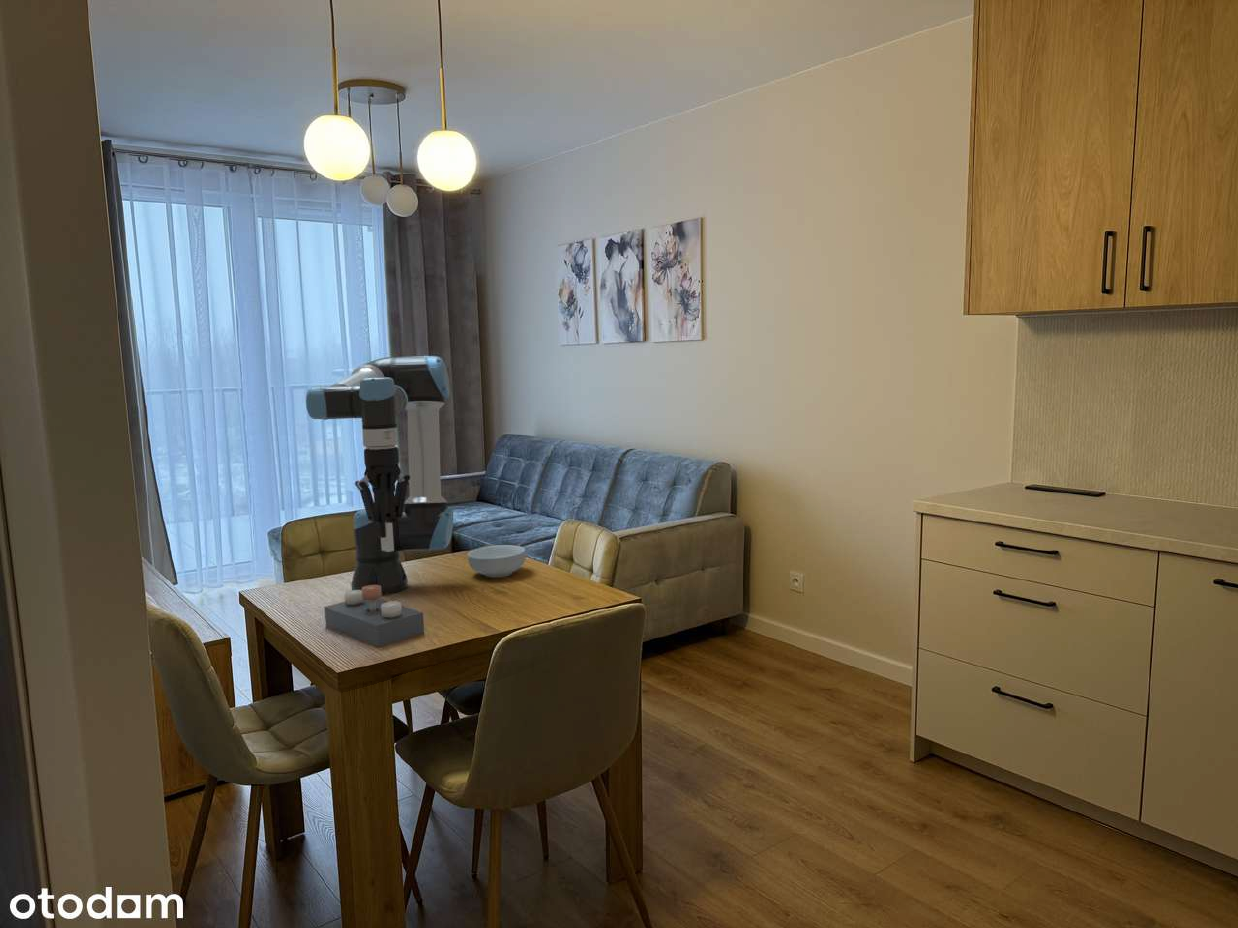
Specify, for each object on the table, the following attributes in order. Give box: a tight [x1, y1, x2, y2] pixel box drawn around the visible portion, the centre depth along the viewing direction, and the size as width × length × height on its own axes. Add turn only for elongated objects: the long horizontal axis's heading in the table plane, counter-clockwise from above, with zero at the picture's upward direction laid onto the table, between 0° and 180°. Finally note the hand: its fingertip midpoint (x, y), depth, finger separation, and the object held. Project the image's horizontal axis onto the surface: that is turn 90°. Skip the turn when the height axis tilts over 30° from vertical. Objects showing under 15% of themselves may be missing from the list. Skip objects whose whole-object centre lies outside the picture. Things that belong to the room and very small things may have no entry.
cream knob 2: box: [381, 600, 402, 618], centre depth 188 cm, size 4×4×7 cm
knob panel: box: [323, 598, 425, 648], centre depth 193 cm, size 12×23×5 cm, turn 48°
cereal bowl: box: [467, 544, 527, 579], centre depth 241 cm, size 17×17×7 cm
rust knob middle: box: [362, 585, 383, 612], centre depth 193 cm, size 4×4×7 cm
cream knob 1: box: [344, 589, 364, 606], centre depth 198 cm, size 4×4×7 cm
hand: (387, 550), depth 186 cm, fingers closed
